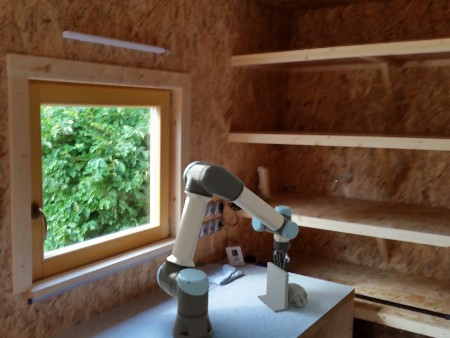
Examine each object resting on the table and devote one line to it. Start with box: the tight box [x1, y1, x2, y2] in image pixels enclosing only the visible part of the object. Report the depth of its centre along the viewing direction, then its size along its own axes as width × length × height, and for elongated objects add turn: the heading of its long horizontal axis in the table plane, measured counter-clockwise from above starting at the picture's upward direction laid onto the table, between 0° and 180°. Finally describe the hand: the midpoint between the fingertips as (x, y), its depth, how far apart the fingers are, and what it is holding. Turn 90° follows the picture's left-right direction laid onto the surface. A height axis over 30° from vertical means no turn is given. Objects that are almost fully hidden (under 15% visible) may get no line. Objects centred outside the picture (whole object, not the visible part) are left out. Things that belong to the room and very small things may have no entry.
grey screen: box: [257, 261, 290, 313], centre depth 201 cm, size 6×16×16 cm, turn 23°
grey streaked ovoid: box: [288, 282, 308, 309], centre depth 203 cm, size 14×10×10 cm
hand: (280, 289), depth 215 cm, fingers closed
